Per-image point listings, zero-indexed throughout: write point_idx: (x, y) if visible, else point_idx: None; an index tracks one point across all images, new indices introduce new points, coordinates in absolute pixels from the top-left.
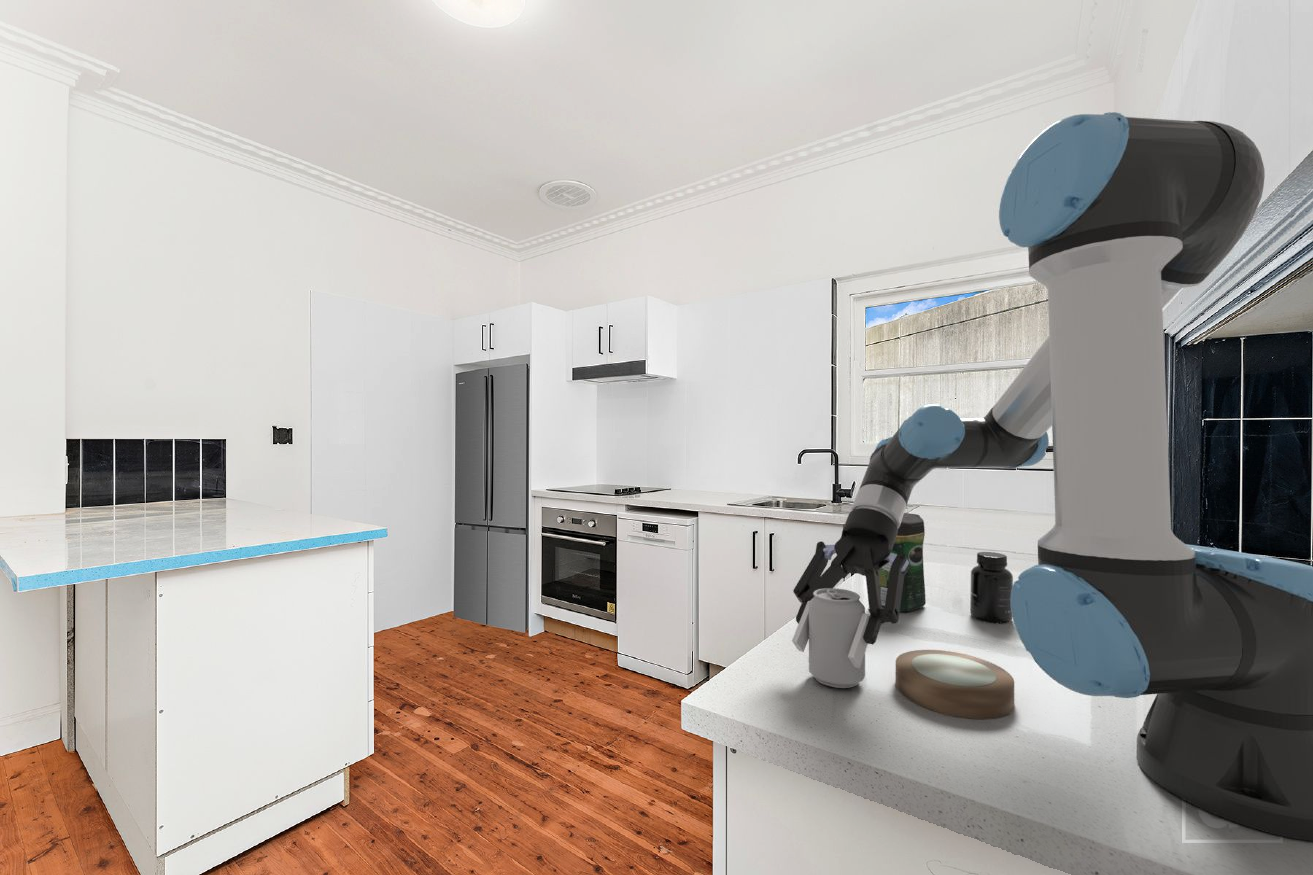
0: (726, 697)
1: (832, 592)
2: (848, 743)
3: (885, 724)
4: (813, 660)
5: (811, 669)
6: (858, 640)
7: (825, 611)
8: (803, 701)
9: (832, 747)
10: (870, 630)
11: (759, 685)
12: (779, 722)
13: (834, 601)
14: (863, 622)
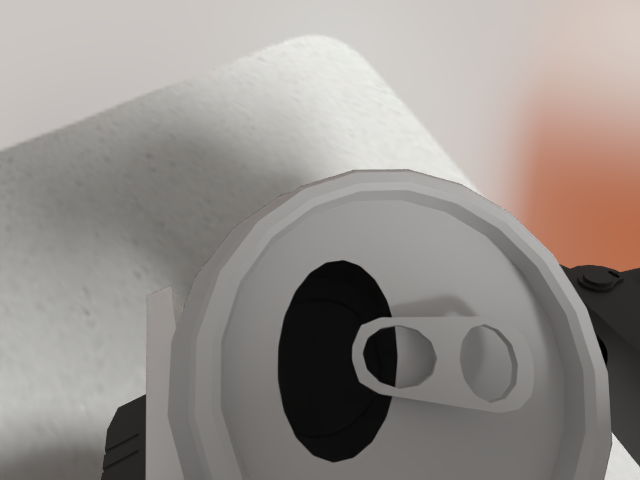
0: (332, 84)
1: (553, 433)
2: (51, 181)
3: (57, 319)
4: (326, 266)
5: (334, 277)
6: (151, 344)
7: (284, 195)
8: (252, 209)
9: (60, 144)
10: (126, 444)
11: (360, 166)
12: (196, 114)
13: (259, 220)
14: (158, 425)
